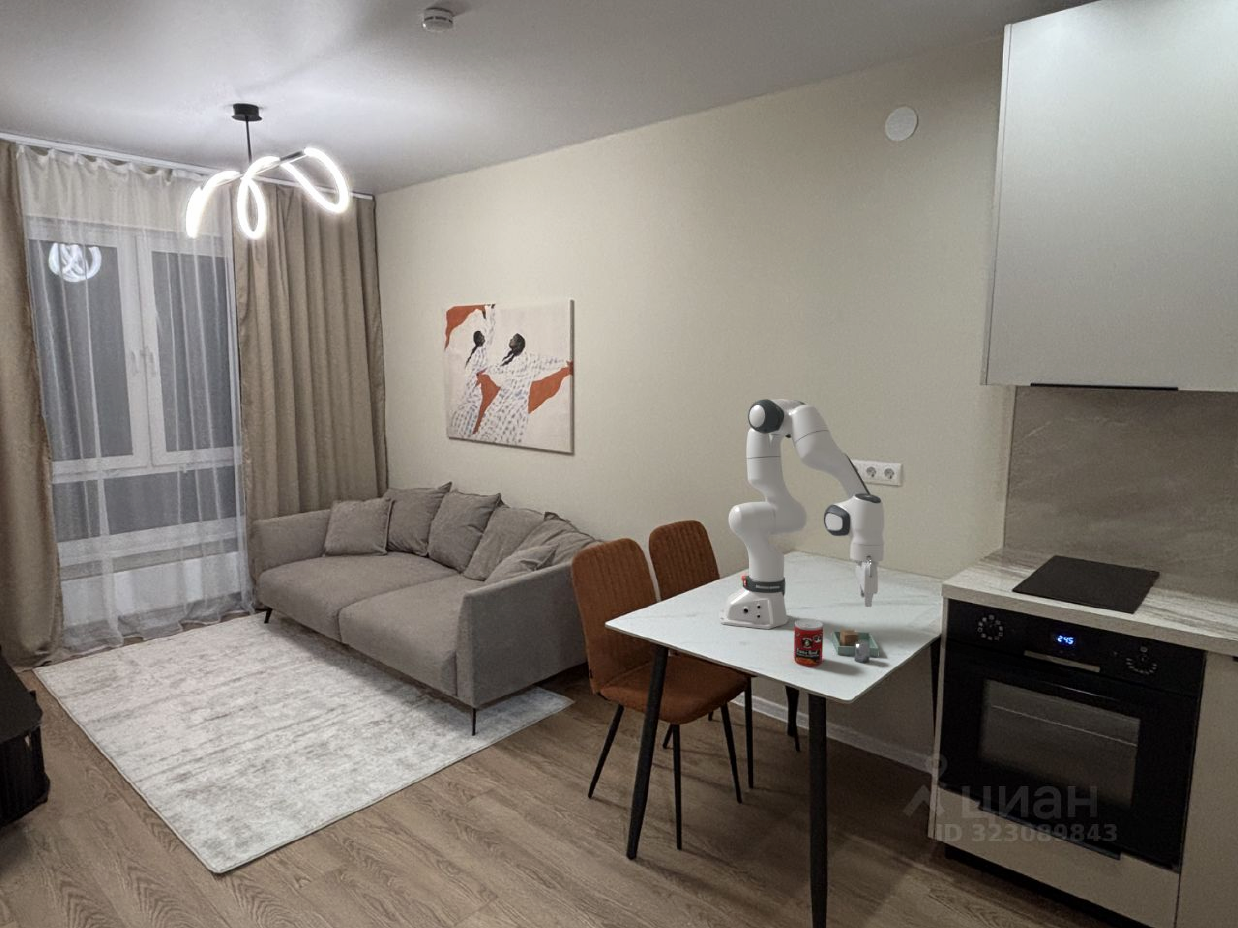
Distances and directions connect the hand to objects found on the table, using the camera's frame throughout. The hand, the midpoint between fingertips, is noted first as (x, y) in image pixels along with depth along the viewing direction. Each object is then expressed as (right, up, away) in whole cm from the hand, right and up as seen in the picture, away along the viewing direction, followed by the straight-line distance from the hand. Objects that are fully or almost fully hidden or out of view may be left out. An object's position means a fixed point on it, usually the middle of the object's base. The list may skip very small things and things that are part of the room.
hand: (865, 601), depth 210 cm
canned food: (-16, -17, 0) cm, 23 cm away
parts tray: (0, -15, +10) cm, 19 cm away
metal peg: (-1, -17, 0) cm, 17 cm away
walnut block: (-2, -15, +8) cm, 17 cm away
